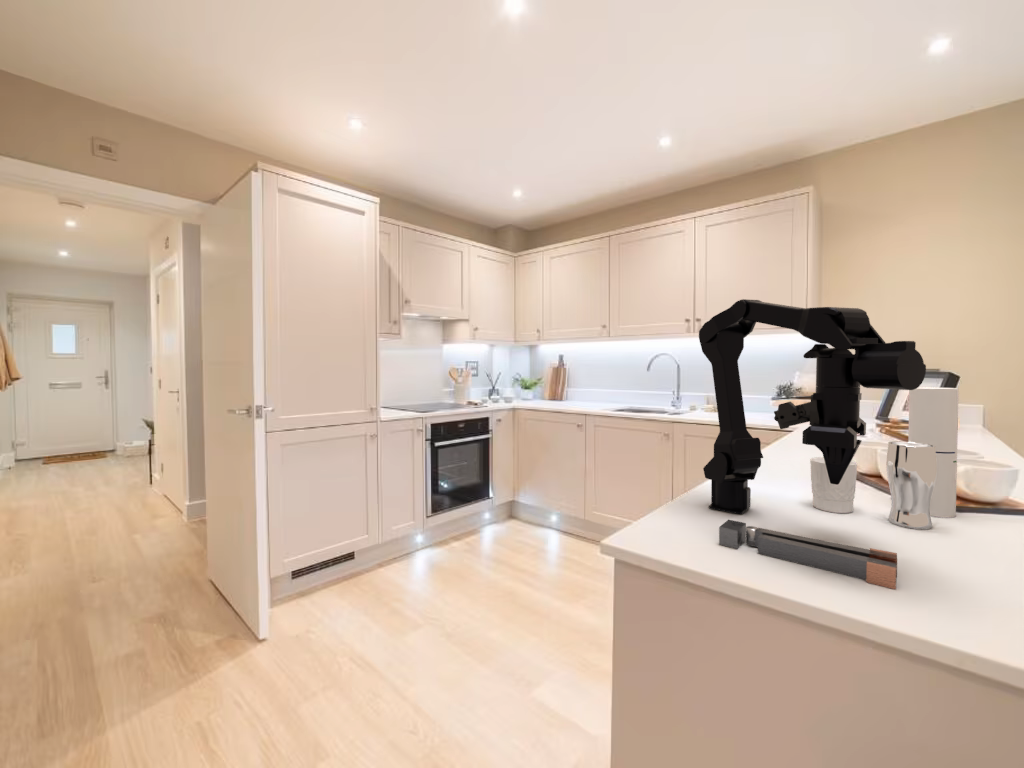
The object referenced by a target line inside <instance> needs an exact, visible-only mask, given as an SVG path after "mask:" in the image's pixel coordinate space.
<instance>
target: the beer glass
mask: <svg viewBox="0 0 1024 768" xmlns="http://www.w3.org/2000/svg"><path fill="white" fill-rule="evenodd" d="M887 443H888V444H887V445H888V446H887V452H886V467H885V468H886V475H887V482H888V486H889V492H890V499H891V500H890V501H891V507H890V511H889V515H888V522H889V523H891V524H893V525H896V526H899V527H903V528H907V529H913V530H921V531H922V530H924V531H925V530H927V531H928V530H932V528H933V522H932V518H931V517H932V516H930V501H931V497H932V493H933V490H934V486H935V481H936V475H937V459H936V446H935V445H932V444H926V443H918V442H908V441H904V440H903V441H901V440H900V441H897V440H895V441H894V440H893V441H889V442H887Z"/></svg>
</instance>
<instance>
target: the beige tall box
mask: <svg viewBox="0 0 1024 768" xmlns="http://www.w3.org/2000/svg"><path fill="white" fill-rule="evenodd" d="M958 427H959V388H958V387H957V388H956V387H926V386H925V387H923V386H922V387H921V386H919V387H918V388H916V389H914V390H908V433H907V434H908V437H907V438H908V439H907V442H918V443H926V444H932V445H935V446H936V459H937V475H936V481H935V486H934V490H933V493H932V497H931V501H930V517H934V518H942V519H943V518H945V519H948V518H949V519H950V518H955V517H956V516H957V507H956V506H957V479H958V478H957V475H958V473H957V472H958V435H959V434H958V431H959V429H958Z"/></svg>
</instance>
